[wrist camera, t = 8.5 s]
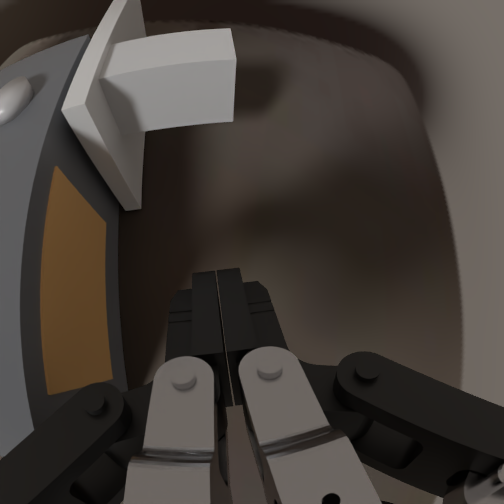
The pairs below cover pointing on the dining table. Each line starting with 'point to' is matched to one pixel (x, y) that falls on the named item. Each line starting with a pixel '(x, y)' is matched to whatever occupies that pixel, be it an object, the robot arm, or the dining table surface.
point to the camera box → (52, 250)
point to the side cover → (145, 91)
